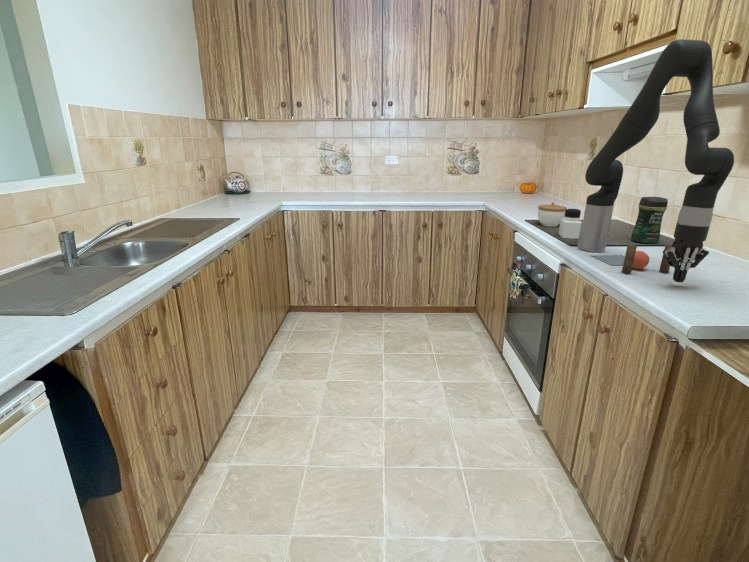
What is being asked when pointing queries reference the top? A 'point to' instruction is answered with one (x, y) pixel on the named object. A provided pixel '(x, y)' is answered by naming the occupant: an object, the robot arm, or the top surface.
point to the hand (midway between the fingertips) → (678, 281)
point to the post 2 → (665, 261)
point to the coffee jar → (649, 219)
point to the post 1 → (629, 259)
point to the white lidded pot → (551, 214)
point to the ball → (640, 260)
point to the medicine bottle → (570, 224)
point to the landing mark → (611, 259)
